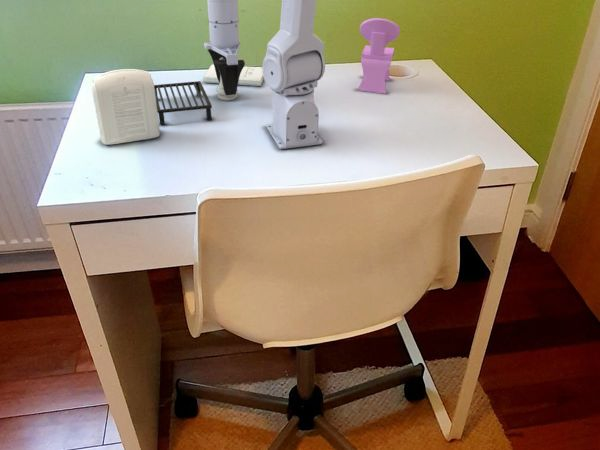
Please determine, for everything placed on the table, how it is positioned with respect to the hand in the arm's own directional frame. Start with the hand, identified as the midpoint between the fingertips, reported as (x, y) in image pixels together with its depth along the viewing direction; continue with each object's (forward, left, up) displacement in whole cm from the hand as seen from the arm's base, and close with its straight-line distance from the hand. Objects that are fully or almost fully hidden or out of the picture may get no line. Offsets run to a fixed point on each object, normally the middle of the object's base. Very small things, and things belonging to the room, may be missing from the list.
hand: (226, 87), depth 113 cm
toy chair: (-1, -33, -2) cm, 33 cm away
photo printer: (-14, +20, -2) cm, 25 cm away
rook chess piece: (0, 0, -2) cm, 2 cm away
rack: (-4, +10, -2) cm, 11 cm away
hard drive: (+10, -4, -2) cm, 11 cm away
